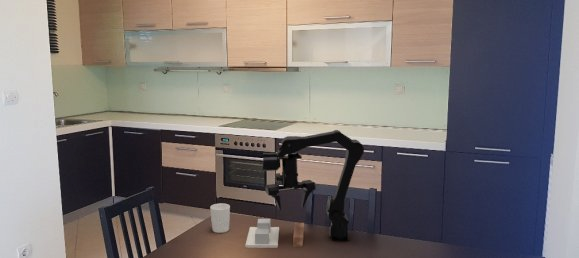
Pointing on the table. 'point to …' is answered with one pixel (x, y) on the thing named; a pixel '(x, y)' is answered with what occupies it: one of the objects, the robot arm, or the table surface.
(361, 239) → the table surface
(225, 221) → the white cup
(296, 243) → the terracotta bar
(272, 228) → the display stand
